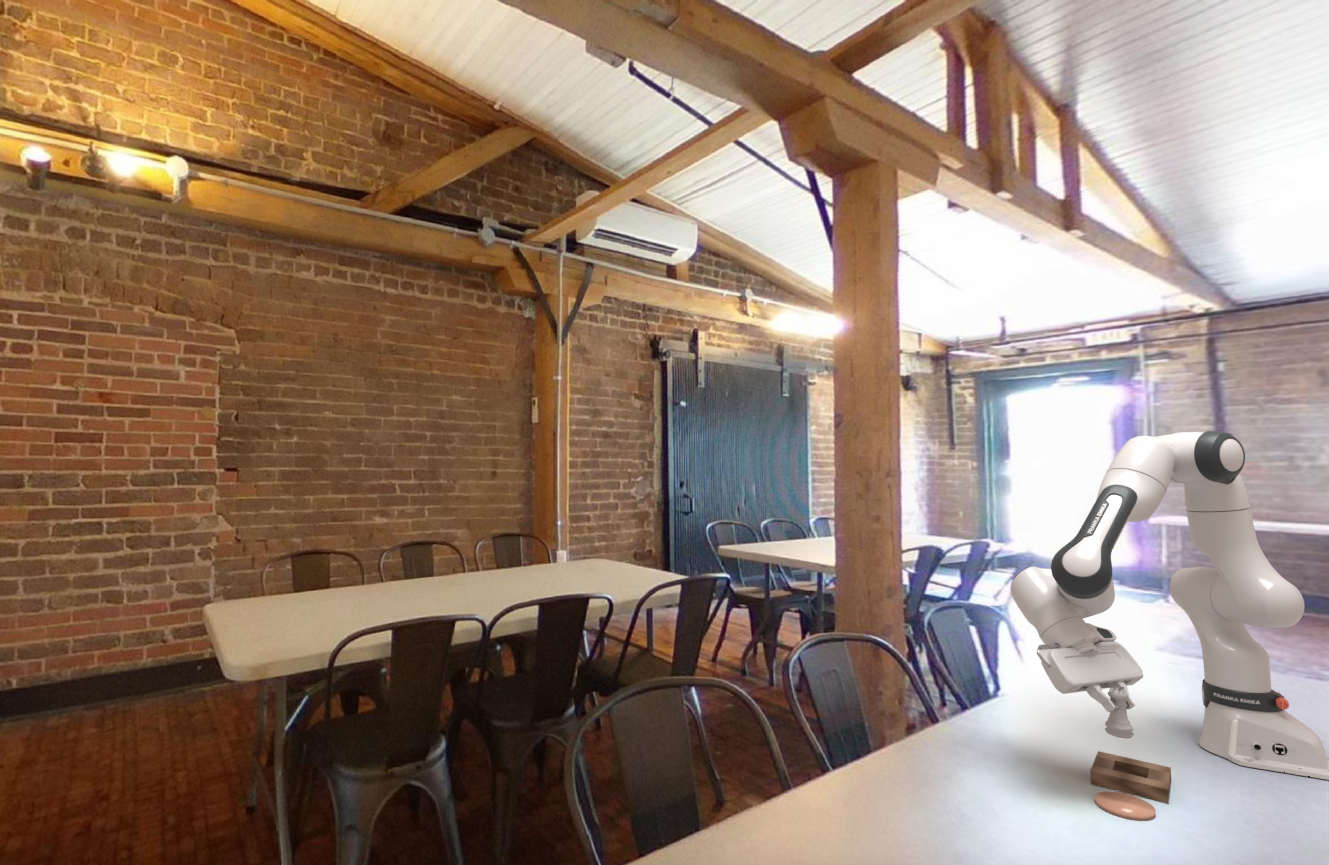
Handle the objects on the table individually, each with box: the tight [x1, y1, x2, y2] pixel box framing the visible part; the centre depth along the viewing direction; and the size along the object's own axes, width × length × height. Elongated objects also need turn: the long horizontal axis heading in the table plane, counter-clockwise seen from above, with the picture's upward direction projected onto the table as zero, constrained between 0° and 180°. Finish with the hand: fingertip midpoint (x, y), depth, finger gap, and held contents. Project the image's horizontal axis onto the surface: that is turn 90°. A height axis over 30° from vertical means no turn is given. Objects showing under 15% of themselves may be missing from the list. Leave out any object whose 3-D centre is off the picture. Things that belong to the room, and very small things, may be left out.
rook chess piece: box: [1104, 688, 1135, 739], centre depth 121 cm, size 4×4×8 cm
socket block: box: [1089, 751, 1172, 804], centre depth 128 cm, size 12×12×2 cm
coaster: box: [1094, 790, 1157, 822], centre depth 118 cm, size 9×9×1 cm
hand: (1122, 709), depth 120 cm, fingers closed on rook chess piece, 3 cm apart
